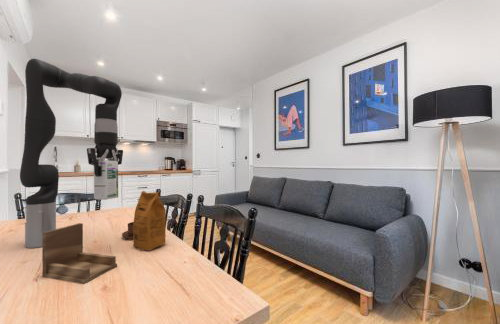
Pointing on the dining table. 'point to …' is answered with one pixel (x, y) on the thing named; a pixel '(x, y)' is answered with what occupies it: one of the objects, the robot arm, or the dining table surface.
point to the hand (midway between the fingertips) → (106, 175)
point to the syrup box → (107, 181)
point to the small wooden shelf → (71, 256)
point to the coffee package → (149, 222)
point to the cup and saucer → (129, 231)
